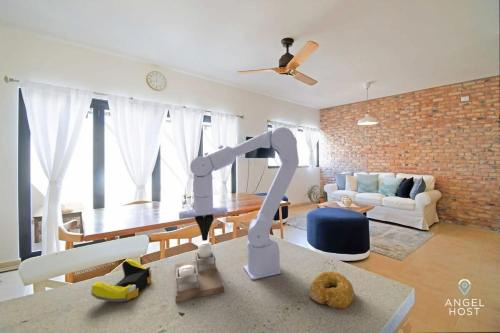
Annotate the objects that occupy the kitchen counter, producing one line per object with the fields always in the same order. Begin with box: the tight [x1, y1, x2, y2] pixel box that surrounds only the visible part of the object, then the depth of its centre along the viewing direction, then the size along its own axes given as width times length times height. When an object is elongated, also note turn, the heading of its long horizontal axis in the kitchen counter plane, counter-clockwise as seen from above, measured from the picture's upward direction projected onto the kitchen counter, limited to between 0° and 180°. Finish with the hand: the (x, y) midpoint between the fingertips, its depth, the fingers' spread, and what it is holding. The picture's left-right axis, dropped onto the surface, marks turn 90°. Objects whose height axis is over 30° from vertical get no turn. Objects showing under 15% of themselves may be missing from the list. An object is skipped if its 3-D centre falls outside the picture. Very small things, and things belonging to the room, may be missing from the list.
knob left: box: [179, 265, 195, 277], centre depth 59 cm, size 4×4×4 cm
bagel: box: [308, 271, 355, 309], centre depth 55 cm, size 10×11×5 cm
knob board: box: [174, 250, 225, 303], centre depth 63 cm, size 12×17×5 cm
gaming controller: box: [90, 258, 153, 303], centre depth 59 cm, size 15×6×10 cm
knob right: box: [197, 241, 212, 259], centre depth 68 cm, size 4×4×4 cm
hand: (204, 239), depth 68 cm, fingers closed
